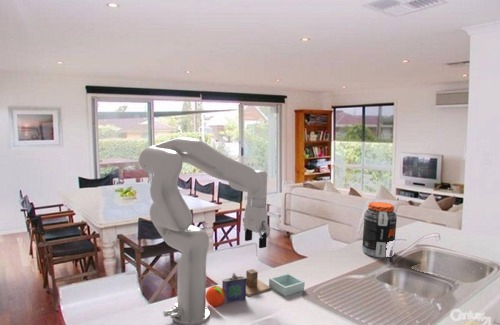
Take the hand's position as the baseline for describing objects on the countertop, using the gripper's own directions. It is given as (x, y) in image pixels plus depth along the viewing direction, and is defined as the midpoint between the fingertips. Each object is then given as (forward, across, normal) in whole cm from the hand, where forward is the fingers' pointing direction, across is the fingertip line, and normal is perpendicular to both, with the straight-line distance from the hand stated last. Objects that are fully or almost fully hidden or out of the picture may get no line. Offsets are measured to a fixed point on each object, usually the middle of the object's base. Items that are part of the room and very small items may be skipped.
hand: (255, 243), depth 149 cm
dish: (+19, +8, +11) cm, 23 cm away
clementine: (+19, +4, -19) cm, 27 cm away
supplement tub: (+18, 0, +79) cm, 81 cm away
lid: (+18, 0, -1) cm, 18 cm away
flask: (+19, +5, -12) cm, 23 cm away
